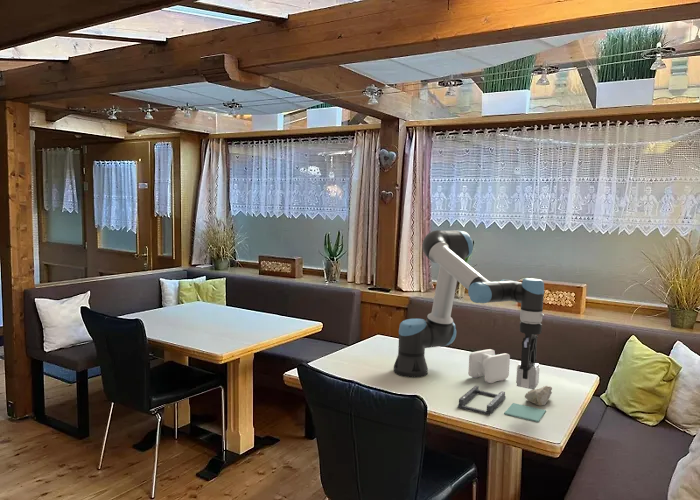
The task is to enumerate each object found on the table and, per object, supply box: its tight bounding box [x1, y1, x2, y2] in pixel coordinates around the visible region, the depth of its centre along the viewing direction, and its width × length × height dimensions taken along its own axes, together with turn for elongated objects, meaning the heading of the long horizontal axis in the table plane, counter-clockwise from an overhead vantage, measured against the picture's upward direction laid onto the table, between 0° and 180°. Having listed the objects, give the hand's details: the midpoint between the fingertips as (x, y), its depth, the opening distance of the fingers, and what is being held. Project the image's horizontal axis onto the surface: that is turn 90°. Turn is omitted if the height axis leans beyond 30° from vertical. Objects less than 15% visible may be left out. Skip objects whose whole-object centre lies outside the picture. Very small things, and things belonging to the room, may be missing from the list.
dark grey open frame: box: [457, 385, 507, 416], centre depth 201 cm, size 12×20×3 cm, turn 148°
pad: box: [503, 402, 547, 423], centre depth 192 cm, size 12×12×1 cm
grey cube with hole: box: [515, 361, 541, 390], centre depth 191 cm, size 7×6×8 cm
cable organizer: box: [468, 348, 511, 384], centre depth 229 cm, size 15×11×12 cm
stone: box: [524, 385, 553, 406], centre depth 204 cm, size 8×12×10 cm, turn 134°
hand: (527, 384), depth 191 cm, fingers closed on grey cube with hole, 6 cm apart
